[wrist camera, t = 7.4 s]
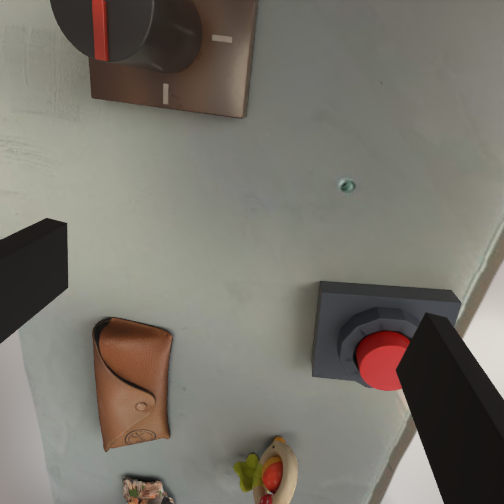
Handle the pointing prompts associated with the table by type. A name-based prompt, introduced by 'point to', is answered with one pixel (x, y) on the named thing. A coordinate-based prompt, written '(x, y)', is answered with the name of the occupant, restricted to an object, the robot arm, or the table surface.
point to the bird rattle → (270, 474)
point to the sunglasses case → (131, 381)
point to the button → (381, 359)
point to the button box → (368, 321)
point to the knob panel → (193, 67)
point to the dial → (133, 31)
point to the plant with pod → (145, 492)
